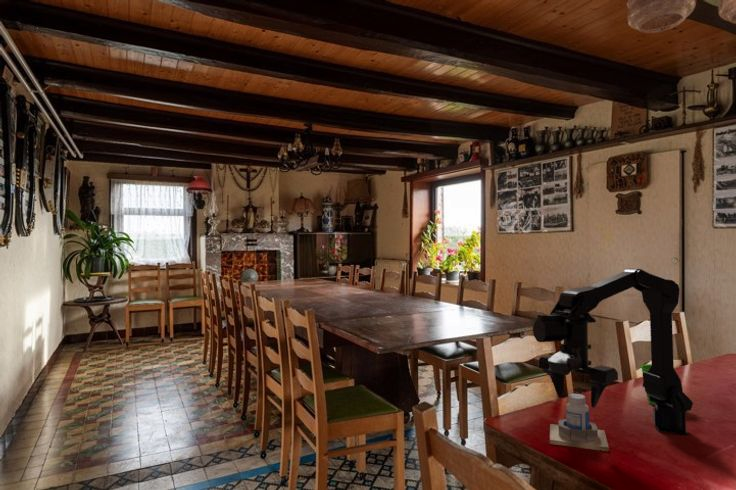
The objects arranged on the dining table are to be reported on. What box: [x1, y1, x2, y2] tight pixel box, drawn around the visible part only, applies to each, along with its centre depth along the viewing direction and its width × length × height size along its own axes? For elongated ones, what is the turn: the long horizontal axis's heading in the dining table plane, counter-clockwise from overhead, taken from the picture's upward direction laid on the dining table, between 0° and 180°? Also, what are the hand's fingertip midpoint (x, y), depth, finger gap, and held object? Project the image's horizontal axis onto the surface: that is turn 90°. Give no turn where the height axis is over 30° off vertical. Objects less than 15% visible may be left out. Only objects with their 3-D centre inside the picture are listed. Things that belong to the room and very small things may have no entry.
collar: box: [549, 418, 610, 452], centre depth 118 cm, size 13×11×4 cm
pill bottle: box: [565, 393, 591, 430], centre depth 118 cm, size 6×5×10 cm
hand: (576, 402), depth 118 cm, fingers open, 9 cm apart
